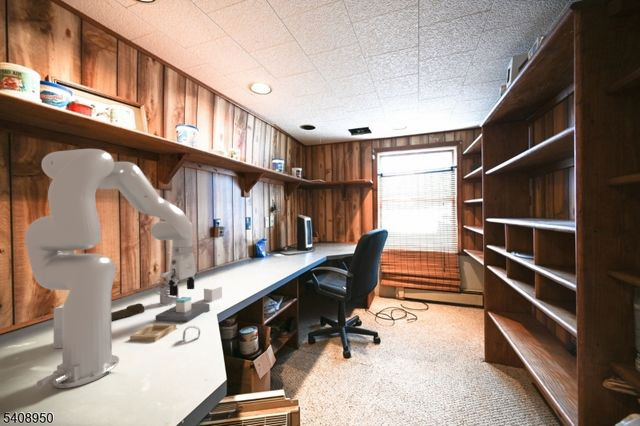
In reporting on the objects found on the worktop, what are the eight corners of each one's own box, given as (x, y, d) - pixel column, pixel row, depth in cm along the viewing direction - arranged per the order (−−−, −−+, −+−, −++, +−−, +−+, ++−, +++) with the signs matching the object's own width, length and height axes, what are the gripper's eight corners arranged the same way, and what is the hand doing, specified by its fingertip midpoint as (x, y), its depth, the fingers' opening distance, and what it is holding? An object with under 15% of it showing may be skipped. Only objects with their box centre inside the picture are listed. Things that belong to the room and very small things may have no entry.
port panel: (187, 324, 93) (187, 316, 93) (155, 323, 95) (155, 315, 95) (209, 310, 107) (209, 303, 107) (181, 309, 109) (181, 303, 109)
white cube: (212, 302, 119) (211, 289, 119) (203, 300, 122) (203, 288, 122) (222, 298, 124) (221, 286, 125) (214, 296, 127) (213, 285, 127)
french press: (183, 302, 120) (182, 251, 121) (156, 308, 112) (155, 254, 112) (177, 298, 127) (176, 250, 128) (151, 304, 119) (150, 253, 119)
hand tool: (86, 330, 92) (86, 317, 92) (85, 327, 94) (85, 315, 95) (146, 314, 107) (146, 303, 107) (143, 311, 109) (143, 301, 109)
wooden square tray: (154, 344, 78) (154, 337, 78) (128, 343, 80) (128, 336, 80) (177, 330, 88) (177, 324, 88) (153, 329, 90) (153, 323, 90)
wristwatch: (183, 341, 80) (183, 326, 80) (200, 338, 82) (200, 323, 82) (182, 345, 77) (182, 329, 78) (199, 342, 79) (199, 326, 79)
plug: (184, 317, 99) (184, 300, 99) (176, 317, 100) (175, 300, 100) (191, 313, 103) (191, 297, 103) (183, 313, 103) (182, 297, 104)
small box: (73, 347, 78) (72, 307, 79) (52, 348, 78) (52, 308, 78) (95, 335, 86) (95, 299, 87) (77, 336, 86) (76, 299, 86)
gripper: (175, 253, 93) (174, 298, 92) (203, 248, 110) (203, 287, 109) (157, 253, 94) (157, 298, 93) (188, 249, 111) (188, 286, 110)
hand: (182, 292), depth 101 cm, fingers open, 9 cm apart
